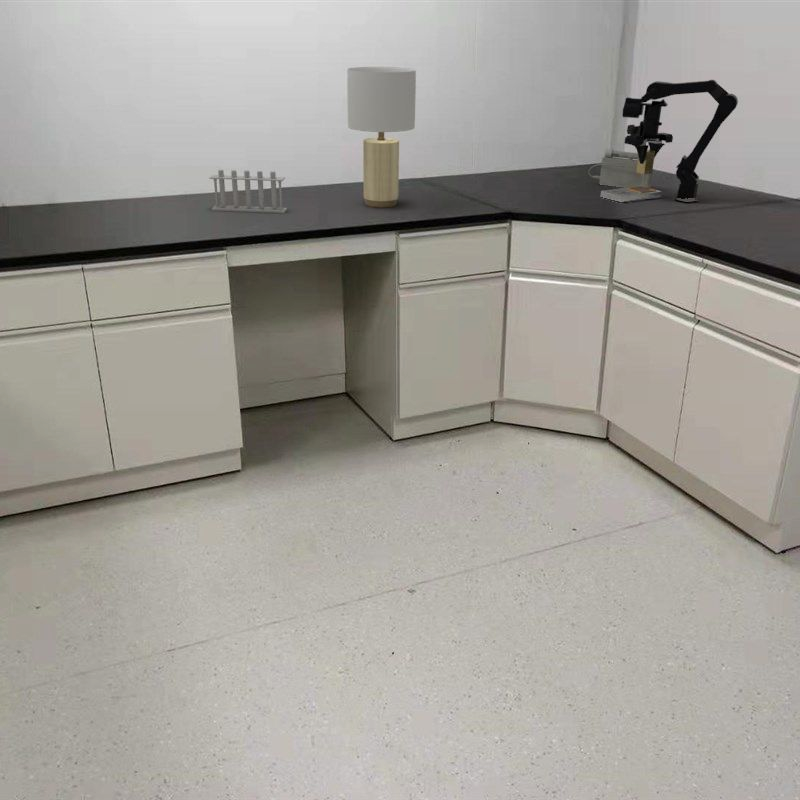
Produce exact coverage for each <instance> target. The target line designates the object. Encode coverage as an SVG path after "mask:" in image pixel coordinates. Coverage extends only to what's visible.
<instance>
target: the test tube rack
mask: <svg viewBox="0 0 800 800" xmlns="http://www.w3.org/2000/svg"><path fill="white" fill-rule="evenodd" d="M230 171H231V172H230V173H231V175H225V174H224V169H218V171H217V172H218V174H212V175H211V176H210V177H209V179H212V180H213V184H214V195H215V196H214V197H215V205H214V206H213V207H211V211H222V212H223V211H225V212H226V211H227V212H250V213H251V212H252V213H253V212H254V213H281V214H284V213H285V212H286V211H287V207H283V196H282V195H283V194H282V182H283V181H284V180H285V179H286V177H284V176H283V177H279V176H276V171H274V170H272V171H269V172H270V173H269V174H270V175H269V176H263V170H257V172H256V173H257V176H254V175H253V176H251V175H250V170H244V171H243V174H244V175H237V170H236V169H231V170H230ZM225 180H231V185H232V186H231V187H232V201H233V202H232V203H233V205H227V201H226V200H227V198H226V188H225V187H226V186H225ZM239 180H241V181H244V187H245V188H244V191H245V203H246V205H244V206H242V205H240V203H239V189H238V188H239V186H238V181H239ZM217 181H218V182H217ZM251 181H257V190H258V191H257V193H258V205H259V206H252V192H251V191H252V190H251ZM265 181H268V182H270V190H271V191H270V192H271V193H270V194H271V195H270V196H271V207H270V206H265V197H264V196H265V193H264V182H265ZM277 183H278V196H277ZM217 184H219V186H218V185H217ZM218 187H219V194H218ZM218 195H219V196H218ZM219 197H220V205H219ZM278 197H279V198H278ZM278 199H279V207H278ZM239 205H240V206H239Z"/></svg>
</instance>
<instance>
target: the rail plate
mask: <svg viewBox="0 0 800 800" xmlns="http://www.w3.org/2000/svg"><path fill="white" fill-rule="evenodd" d="M661 195H662V196H663V190H658V189H654V188H651V187H650V188H647V187H643V186H637V187H629V188H615V189H614V188H612V189H606V190H605V189H604V190H601V191H600V197H603V198H602V199H604V198H607V199H611V200H615V201H619V202H624V201H630V200H636V199H642V198H649V197H655V196H661ZM607 199H606V200H607Z"/></svg>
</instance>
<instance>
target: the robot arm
mask: <svg viewBox="0 0 800 800" xmlns="http://www.w3.org/2000/svg"><path fill="white" fill-rule="evenodd" d="M700 93H701V94H702V93H708V94H709V95H710V96H711V97H712V98H713V99H714V100H715V102H716V103H718V105H717V106H716V107H717V108H716V109H715V112H714V114H713V117H712V119H711V120H710V122H709V124H708V126H707V127H706V129H705V130H704V131H703V134H702V135H701V137H700V138H699V139H698V142H696V144H695V146H694V147H693V149H692V151H691V152H690V153H689V154H688V156H687V155H686V154H684V155H683V156H682V158H681V160H680V162H679V163H678V164H677V165H676V171H675V174H676V175H675V176H676V178H677V179H678V180H680V182H679V186H678V189H677V195H676V198H681V199H685V198H687V199H688V198H695V197H696V198H697V192H698V187H699V184H698V181H699V179H700V176H699V175H698V173H697V172H696V171H695V170H696V168H697V166H698V163H699V160H700V159H701V156H702V155H703V154H704V152H705V151H706V148H707V147H708V145H709V144H710V142H711V141H712V139H713V138H714V136H715V135H716V133H717V132H718V131H719V129H720V128H721V125H722V124H723V123H724V122H725V120H726V119H728V117H730V115H731V114H732V113H733V112H734V110H735V109H736V108H737V106H738V103H739V100H738V97H737V96H736V95H735V94H733V93H729V92H728V91H727V90H725V88H723V87H722V86H721V85H720V84H719V83H718V82H717V81H716V80H715V79H708V80H703V81H702V80H701V81H699V80H698V81H688V82H676V83H675V82H674V83H673V82H668V81H661V80H660V81H653V82H652V83H650V84H649V85H648V86H647V88H646V92H645V93H644V94H643V95H641V97H640V98H637V97H636V98H634V97H633V98H632V97H628V96H627V97H626V98H625V101H624V104H623V107H622V117H623V118H628V119H629V118H631V119H639V118H640V116H643V119H642V121H640V122H639V125H636V126H635V124H629V125H627V128H626V132H627V135H626V136H625V137H624V144H626V145H629V146H630V145H631V146H633V147H635V150H636V153H638V157H639V162H640V164H643V162H644V159H645V156H646V153H647V150H652V151H655V156H654V159H655V158H656V156H657V155H658V153H659V152H660V150H661V149H662V148H663V147H664V146H665V143H668V144H670V143H673V140H674V138H673V137H674V136H673V134H671V133H667V132H659V128H660V126H662V125H663V122H660V121H661V114H662V108H663V107H666V108H667V106H669V104H668V103H667V102H666V100H665V98H667V97H671V96H675V95H689V94H700ZM662 98H663V99H662ZM659 99H661V100H659ZM651 100H652V101H651ZM649 101H651V103H648V102H649ZM663 142H665V143H663Z"/></svg>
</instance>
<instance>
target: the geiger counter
mask: <svg viewBox="0 0 800 800" xmlns="http://www.w3.org/2000/svg"><path fill="white" fill-rule="evenodd" d="M637 164H638V152H631V151H629V152H628V151H621V150H614V149H612V148H611V149H609V148H606V149H605V151H604V156H603V157H602V159H601V163H598V164H595V165H592V166H590V168H589V169H588V171H587V173H588V175H589V176H590V177H592V178H593V179H595V180H599V183H598V185H599V184H600V185H608V186H616V187H624V188H629V187H637V186H643V187H647V188H650V189H651V183H652V175H653V173H652V174H640V173H636V171H637ZM596 166H597V167H599V166H600V175H592V174H590V173H591V172H590V171H591V169H593V168H595V167H596Z"/></svg>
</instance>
